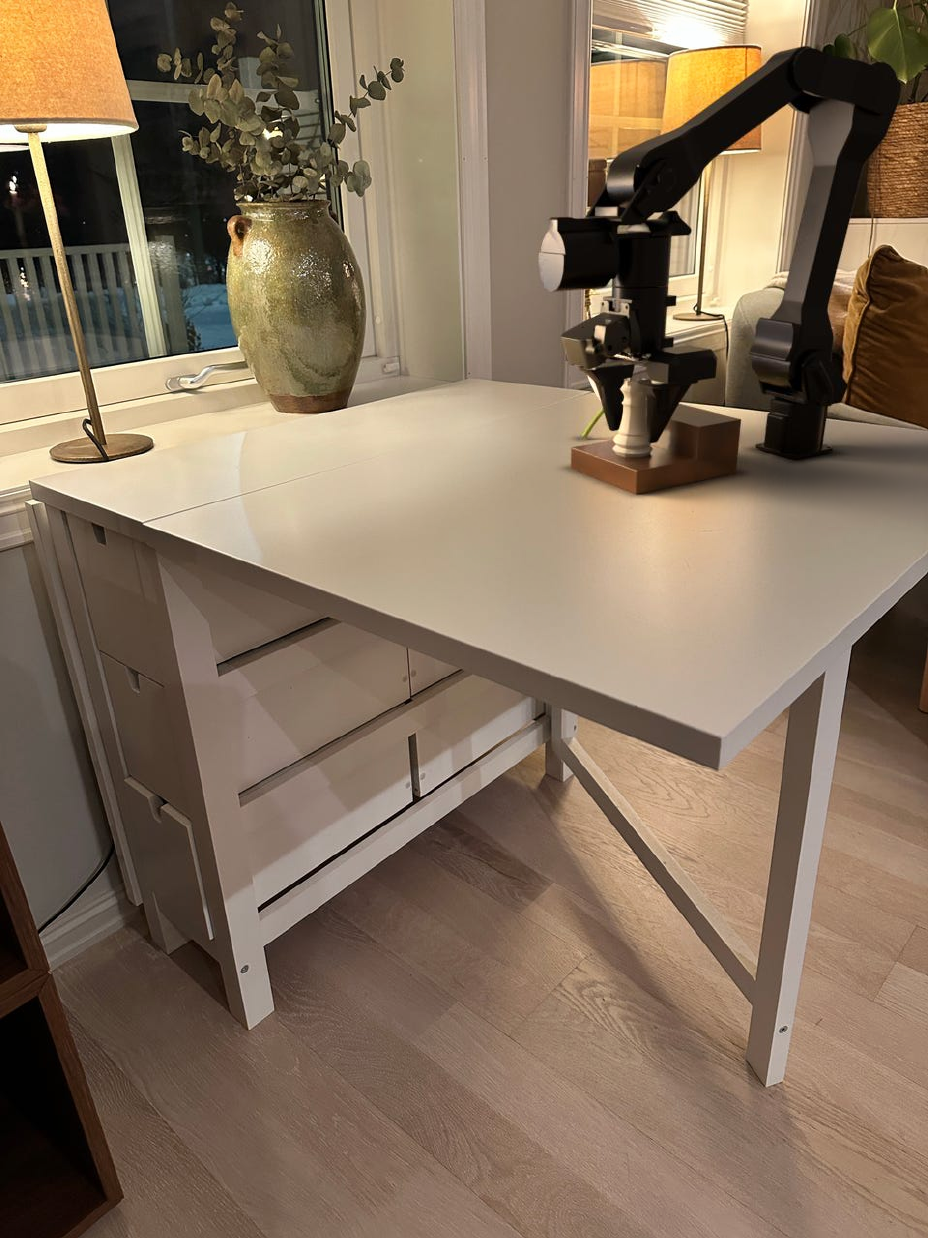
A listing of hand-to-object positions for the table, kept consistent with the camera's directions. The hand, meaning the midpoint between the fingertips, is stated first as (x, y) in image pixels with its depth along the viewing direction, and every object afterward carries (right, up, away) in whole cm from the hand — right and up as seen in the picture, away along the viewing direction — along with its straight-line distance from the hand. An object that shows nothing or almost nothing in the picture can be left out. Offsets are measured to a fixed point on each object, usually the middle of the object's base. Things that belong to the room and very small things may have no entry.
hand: (632, 436), depth 97 cm
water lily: (+2, +4, +18) cm, 19 cm away
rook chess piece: (0, -2, +1) cm, 2 cm away
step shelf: (+4, -3, +4) cm, 6 cm away
